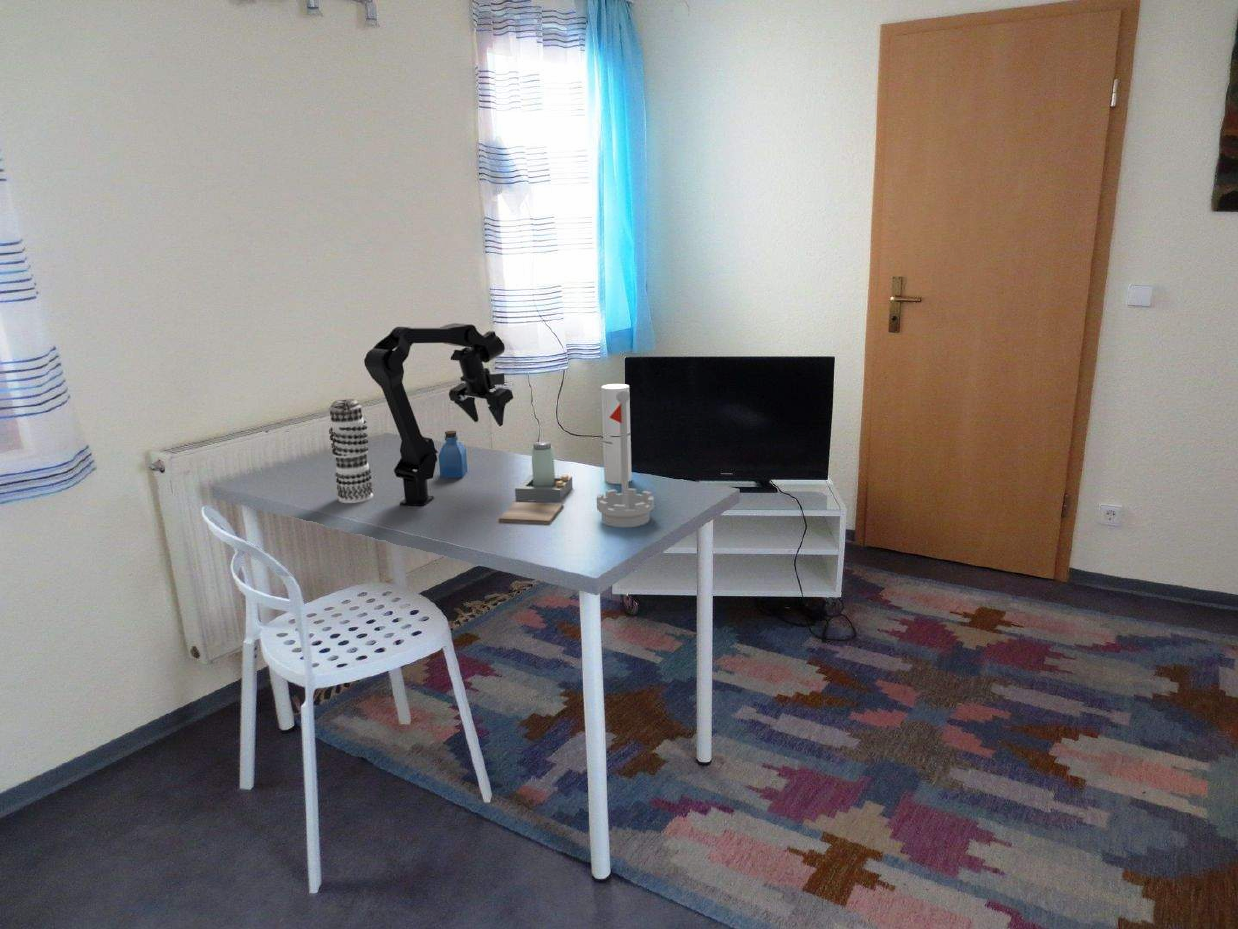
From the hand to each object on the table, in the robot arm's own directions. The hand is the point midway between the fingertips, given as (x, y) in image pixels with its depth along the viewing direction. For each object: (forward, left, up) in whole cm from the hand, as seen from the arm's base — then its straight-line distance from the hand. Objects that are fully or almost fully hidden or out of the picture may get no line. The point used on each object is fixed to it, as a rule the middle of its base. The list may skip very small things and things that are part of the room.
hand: (488, 423), depth 227 cm
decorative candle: (-22, +28, -15) cm, 39 cm away
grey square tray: (-13, -19, -15) cm, 27 cm away
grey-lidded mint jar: (-13, -19, -15) cm, 27 cm away
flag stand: (-29, -43, -15) cm, 54 cm away
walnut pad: (-29, -20, -15) cm, 38 cm away
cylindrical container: (+1, -35, -15) cm, 38 cm away
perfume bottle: (+1, +11, -15) cm, 19 cm away
